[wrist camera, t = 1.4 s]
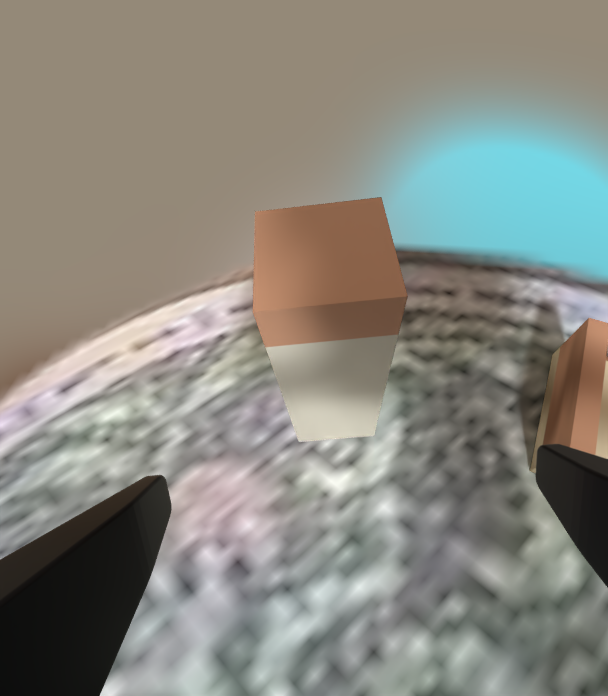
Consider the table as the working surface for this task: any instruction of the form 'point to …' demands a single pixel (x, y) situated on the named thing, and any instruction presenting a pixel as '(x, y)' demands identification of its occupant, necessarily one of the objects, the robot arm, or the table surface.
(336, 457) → the table surface
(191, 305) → the table surface
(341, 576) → the table surface
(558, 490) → the robot arm
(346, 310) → the plug
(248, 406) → the table surface
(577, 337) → the comb rack
